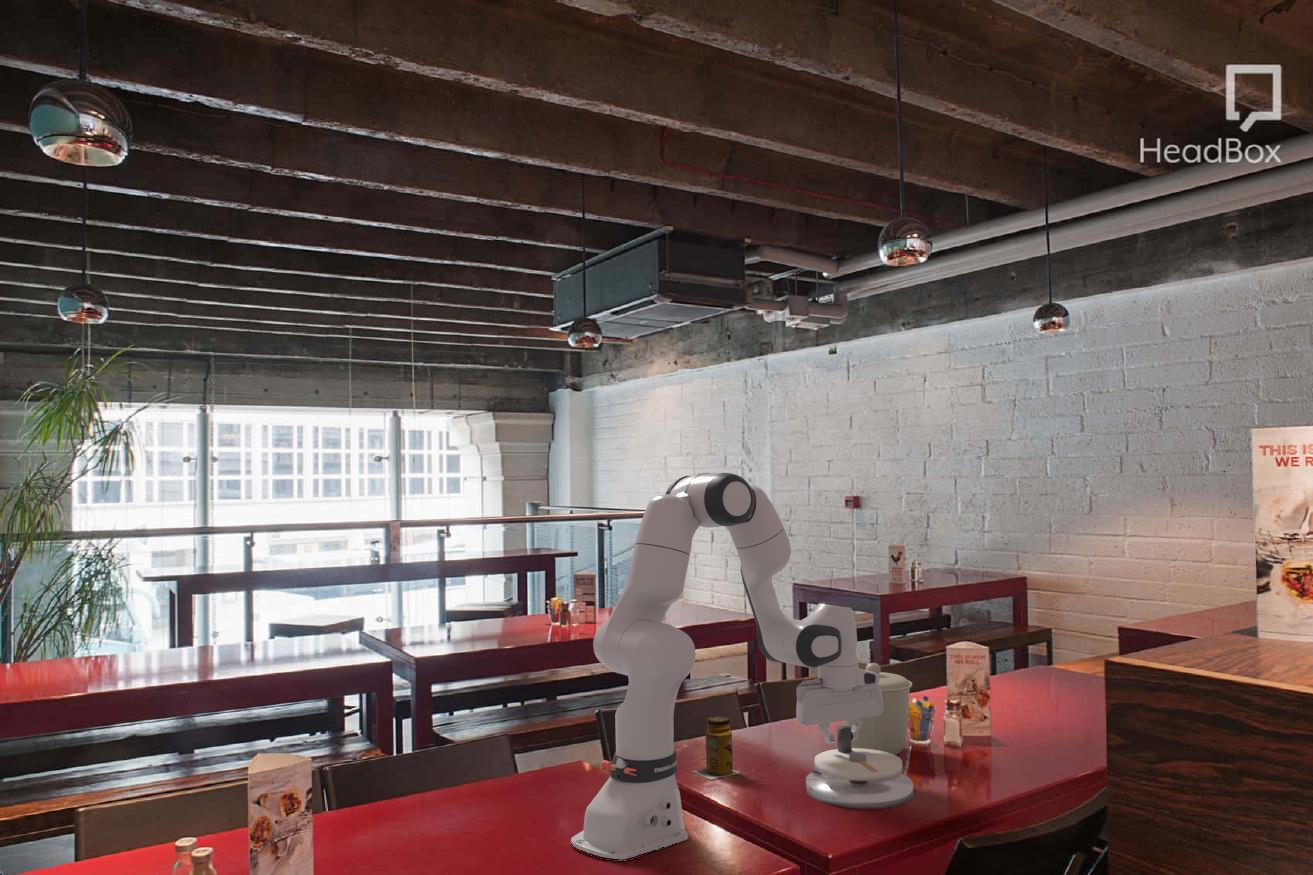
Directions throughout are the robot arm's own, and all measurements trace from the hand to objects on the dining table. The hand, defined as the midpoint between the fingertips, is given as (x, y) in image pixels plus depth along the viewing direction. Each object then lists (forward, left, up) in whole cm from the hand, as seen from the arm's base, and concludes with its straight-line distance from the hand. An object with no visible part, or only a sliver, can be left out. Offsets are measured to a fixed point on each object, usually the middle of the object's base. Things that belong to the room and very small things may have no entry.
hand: (841, 740), depth 191 cm
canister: (+25, +4, -9) cm, 27 cm away
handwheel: (-4, -6, -4) cm, 8 cm away
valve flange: (-4, -6, -9) cm, 11 cm away
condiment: (-11, +26, -9) cm, 30 cm away
